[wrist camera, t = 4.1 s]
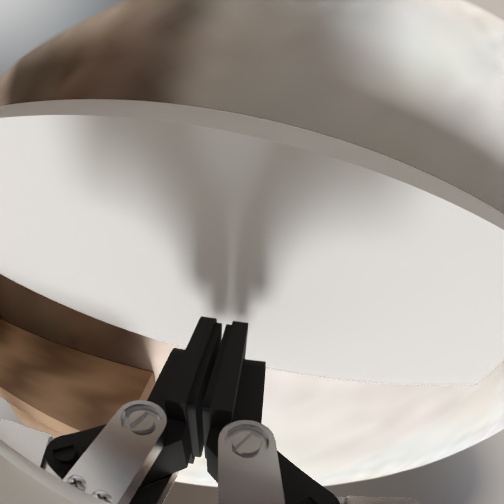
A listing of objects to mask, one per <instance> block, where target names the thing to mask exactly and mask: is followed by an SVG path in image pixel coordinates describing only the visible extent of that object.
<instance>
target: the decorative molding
mask: <svg viewBox="0 0 504 504" xmlns="http://www.w3.org/2000/svg"><path fill="white" fill-rule="evenodd" d="M0 274H2V275H3V276H5V277H7V278H9V279H11V280H13V281H15V282H16V283H18V284H20V285H22V286H24V287H26V288H28V289H30V290H32V291H34V292H36V293H38V294H41V295H43V296H45V297H47V298H49V299H51V300H53V301H56V302H58V303H60V304H62V305H65V306H67V307H69V308H72V309H74V310H76V311H79V312H81V313H84V314H86V315H88V316H91V317H93V318H96V319H99V320H101V321H104V322H106V323H109V324H112V325H114V326H117V327H120V328H123V329H125V330H128V331H131V332H134V333H137V334H140V335H143V336H146V337H149V338H152V339H155V340H158V341H162V342H165V343H168V344H171V345H175V346H178V347H182V348H185V349H186V347H187V345H188V343H189V341H190V339H191V336H192V334H193V332H194V330H195V328H196V325H197V323H198V321H199V319H200V317H201V316H203V317H209V318H216V319H217V323H222V337H223V333H224V330H225V327H226V324H230V325H232V322H233V321H238V322H246V323H248V334H247V344H246V354H245V359H247V360H256V361H265V362H266V368H269V369H274V370H280V371H285V372H291V373H297V374H303V375H310V376H316V377H324V378H331V379H339V380H348V381H357V382H368V383H381V384H396V385H421V386H458V385H477V384H478V383H479V382H481V381H482V380H483V379H484V378H485V377H486V376H487V375H488V374H489V373H490V372H491V371H492V370H493V369H494V368H496V367H497V366H498V365H499V364H500V363H501V362H502V361H503V360H504V214H503V213H502V212H500V211H498V210H497V209H495V208H493V207H492V206H490V205H488V204H487V203H485V202H483V201H481V200H479V199H478V198H476V197H474V196H472V195H470V194H469V193H467V192H465V191H463V190H461V189H459V188H457V187H455V186H453V185H451V184H449V183H447V182H445V181H443V180H441V179H439V178H437V177H435V176H433V175H430V174H428V173H426V172H424V171H422V170H419V169H417V168H415V167H412V166H410V165H408V164H405V163H403V162H401V161H398V160H396V159H393V158H391V157H388V156H386V155H383V154H380V153H378V152H375V151H372V150H370V149H367V148H364V147H361V146H358V145H355V144H352V143H349V142H346V141H343V140H340V139H337V138H334V137H331V136H328V135H324V134H321V133H317V132H314V131H311V130H307V129H303V128H300V127H296V126H292V125H288V124H284V123H280V122H276V121H272V120H267V119H263V118H258V117H254V116H249V115H244V114H239V113H233V112H228V111H222V110H216V109H210V108H203V107H196V106H189V105H180V104H172V103H162V102H150V101H136V100H114V99H71V100H50V101H37V102H26V103H18V104H10V105H4V106H1V107H0Z"/></svg>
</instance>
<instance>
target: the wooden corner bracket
mask: <svg viewBox="0 0 504 504" xmlns="http://www.w3.org/2000/svg"><path fill="white" fill-rule="evenodd" d="M154 385H155V379H154V373H153V372H151V371H147V370H143V369H139V368H135V367H131V366H127V365H123V364H119V363H116V362H112V361H109V360H106V359H102V358H99V357H96V356H92V355H89V354H86V353H83V352H80V351H77V350H74V349H71V348H69V347H66V346H63V345H60V344H58V343H55V342H52V341H50V340H47V339H45V338H42V337H40V336H37V335H35V334H32V333H30V332H28V331H25V330H23V329H21V328H19V327H16V326H14V325H12V324H10V323H8V322H6V321H4V320H2V319H1V317H0V397H2V398H3V399H5V400H6V401H7V402H9V403H10V404H12V405H13V406H15V407H16V408H18V409H20V410H21V411H23V412H24V413H26V414H28V415H29V416H31V417H33V418H34V419H36V420H38V421H39V422H41V423H43V424H45V425H47V426H48V427H50V428H52V429H54V430H56V431H58V432H60V433H62V434H64V435H67V434H71V433H75V432H79V431H83V430H87V429H91V428H94V427H98V426H101V425H105V424H107V423H108V422H109V421H110V420H111V418H112V417H113V416H114V415H115V413H116V412H117V411H118V410H119V409H120V408H121V407H122V406H123V405H124V404H126V403H129V402H131V401H136V400H146V401H147V399H148V397H149V395H150V393H151V391H152V389H153V387H154Z"/></svg>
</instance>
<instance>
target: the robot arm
mask: <svg viewBox="0 0 504 504" xmlns="http://www.w3.org/2000/svg"><path fill="white" fill-rule="evenodd" d="M247 334H248V323H246V322H238V321H233V322H232V325H230V324H226V327H225V330H224V333H223V337H222V323H217V319H216V318H209V317H203V316H201V317H200V319H199V321H198V323H197V325H196V328H195V330H194V332H193V334H192V336H191V339H190V341H189V343H188V345H187V347H186V350H183V349H177V348H174V349H173V350H172V351H171V353H170V355H169V357H168V359H167V361H166V363H165V365H164V367H163V369H162V371H161V373H160V375H159V377H158V379H157V381H156V383H155V385H154V387H153V389H152V391H151V393H150V395H149V397H148V399H147V401H146V400H136V401H131V402H129V403H126V404H124V405H123V406H122V407H121V408H120V409H119V410H118V411H117V412H116V413H115V415H114V416H113V417H112V418H111V420H110V421H109V422H108V423H107V424H105V425H101V426H98V427H94V428H91V429H87V430H83V431H79V432H75V433H71V434H67V435H63V436H60V437H57V438H54V437H52V436H51V434H48V433H45V432H42V431H38V430H35V429H32V428H29V427H26V426H24V425H21V424H18V423H15V422H13V421H10V420H5V419H4V420H0V504H163V502H164V500H165V498H166V496H167V494H168V492H169V491H170V488H171V487H172V485H173V483H174V481H175V479H176V477H177V475H178V471H180V470H182V469H185V468H187V466H188V463H191V464H193V462H194V459H195V456H196V457H201V455H202V451H203V447H204V448H205V458H207V470H208V472H209V474H210V475H211V476H212V477H213V478H214V479H215V480H216V481H217V483H218V504H419V503H418V502H417V501H415V500H414V499H410V498H375V497H359V496H348V497H347V498H345V497H336V496H334V495H333V494H332V493H331V492H330V491H328V490H327V489H325V488H324V487H323V486H321V485H320V484H319V483H317V482H316V481H315V480H313V479H312V478H311V477H309V476H308V475H307V474H305V473H304V472H303V471H301V470H300V469H299V468H298V467H296V466H295V465H294V464H293V463H291V462H290V461H289V460H288V459H287V458H285V457H284V456H283V455H282V454H281V453H279V452H278V451H277V448H276V441H275V438H274V435H273V433H272V432H271V431H270V430H269V428H267V427H266V426H264V425H263V424H261V419H262V407H263V395H264V381H265V368H266V362H265V361H256V360H247V359H245V354H246V344H247Z"/></svg>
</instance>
